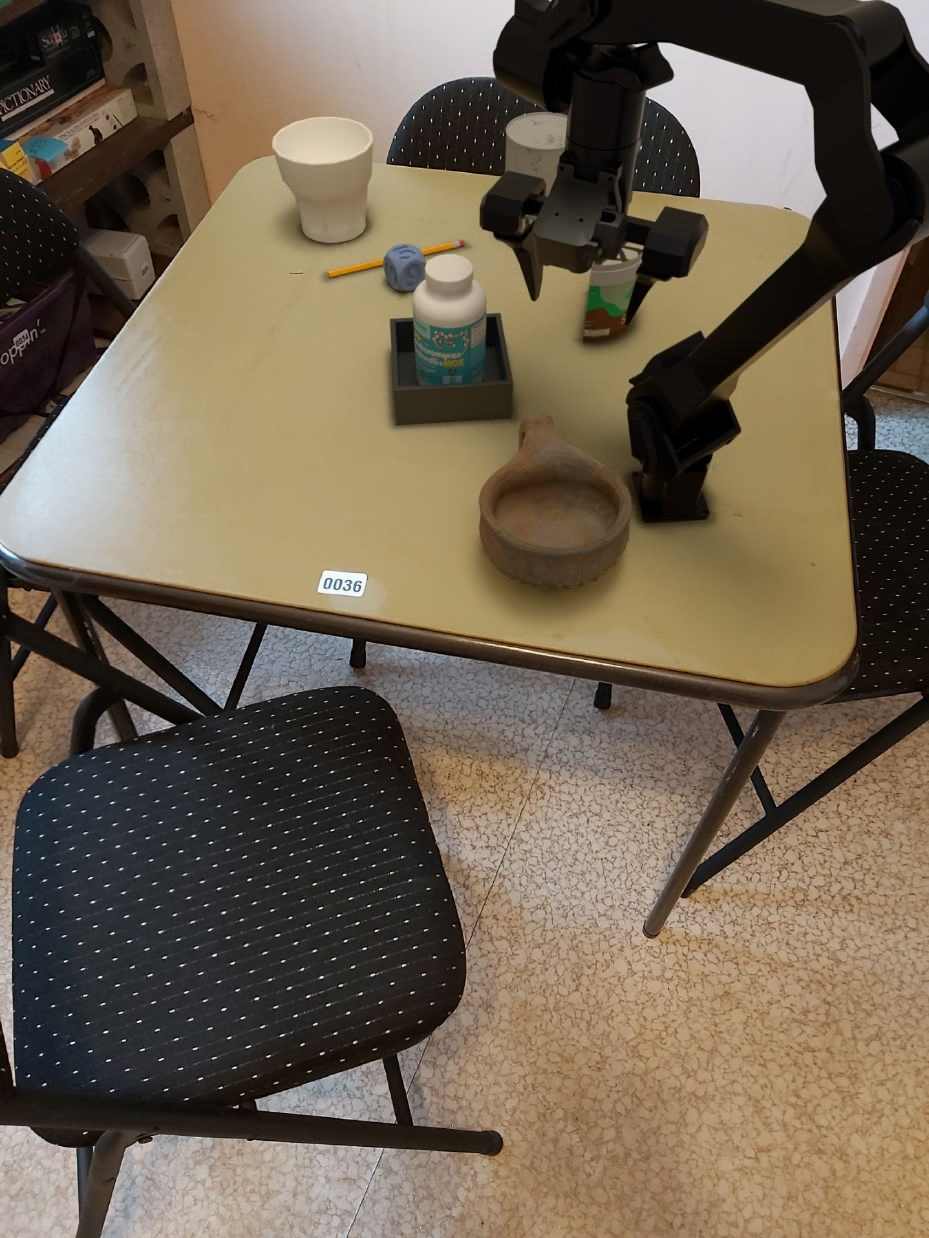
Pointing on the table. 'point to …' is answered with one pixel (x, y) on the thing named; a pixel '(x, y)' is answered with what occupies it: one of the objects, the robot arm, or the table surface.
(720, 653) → the table surface
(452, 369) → the pill bottle
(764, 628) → the table surface
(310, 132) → the cup
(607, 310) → the food container
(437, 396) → the dark gray square tray
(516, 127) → the marbled stone cylinder
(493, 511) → the bowl
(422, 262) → the decorative dice
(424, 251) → the pencil
